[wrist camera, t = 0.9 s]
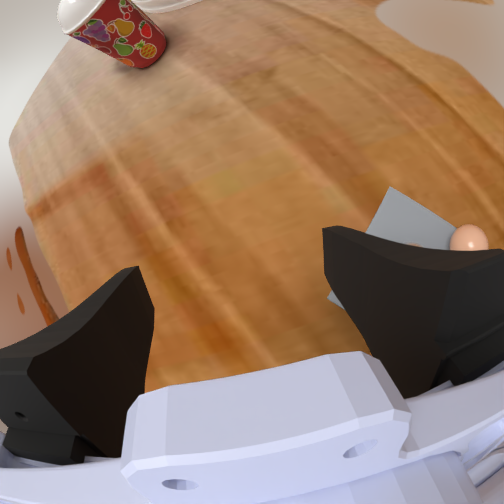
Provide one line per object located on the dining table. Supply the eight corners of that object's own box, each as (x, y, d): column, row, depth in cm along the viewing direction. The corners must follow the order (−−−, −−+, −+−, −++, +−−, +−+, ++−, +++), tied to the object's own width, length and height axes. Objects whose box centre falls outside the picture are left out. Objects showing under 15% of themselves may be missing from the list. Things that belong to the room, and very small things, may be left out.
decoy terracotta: (485, 240, 18) (501, 237, 15) (468, 275, 18) (482, 278, 16) (455, 218, 19) (468, 213, 16) (438, 254, 20) (448, 254, 17)
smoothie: (169, 22, 33) (80, -50, 14) (180, 51, 32) (74, -32, 13) (126, 54, 36) (33, -3, 17) (132, 86, 35) (21, 25, 16)
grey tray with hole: (509, 276, 19) (521, 277, 16) (452, 372, 21) (459, 382, 18) (387, 193, 23) (389, 186, 21) (330, 294, 25) (326, 298, 23)
